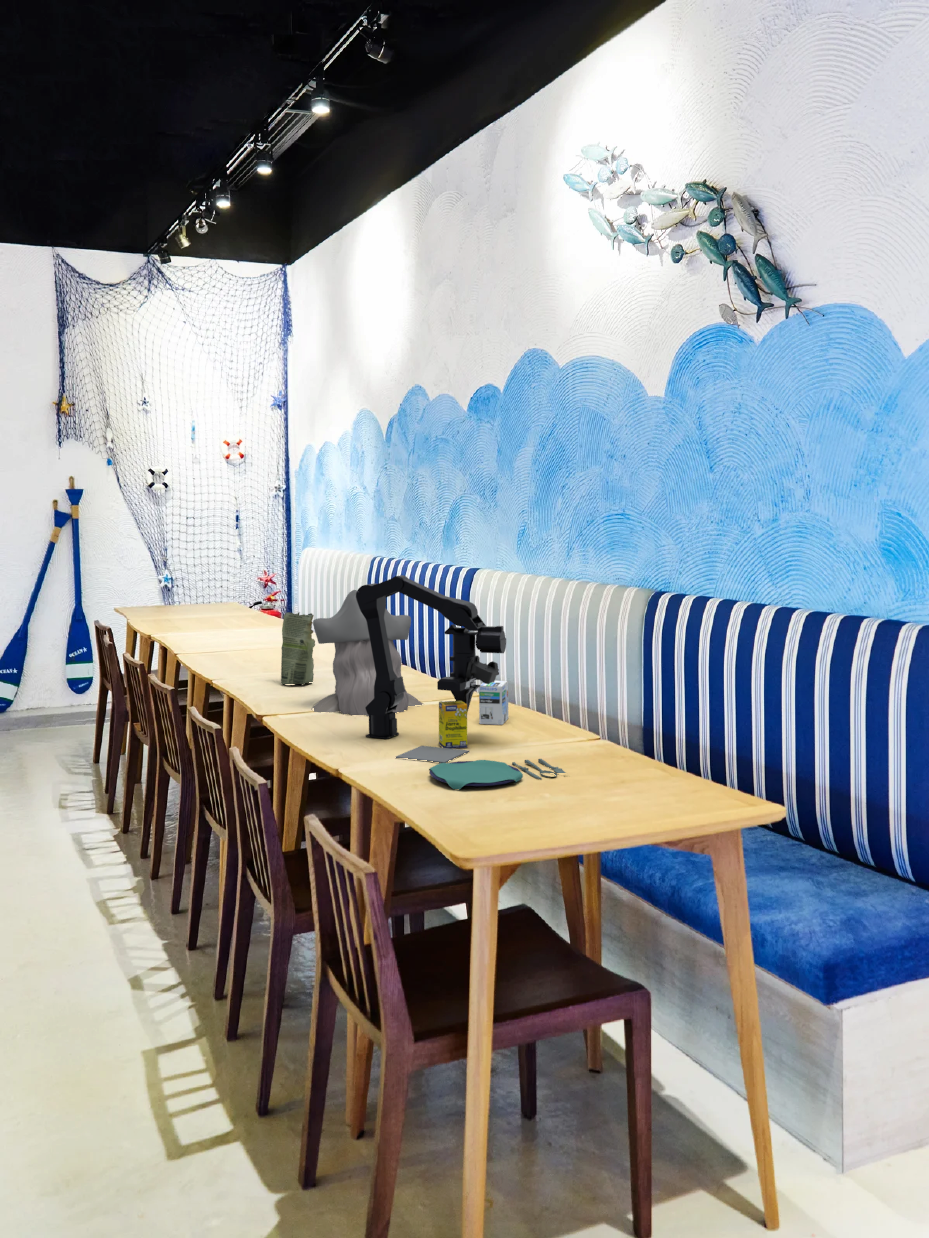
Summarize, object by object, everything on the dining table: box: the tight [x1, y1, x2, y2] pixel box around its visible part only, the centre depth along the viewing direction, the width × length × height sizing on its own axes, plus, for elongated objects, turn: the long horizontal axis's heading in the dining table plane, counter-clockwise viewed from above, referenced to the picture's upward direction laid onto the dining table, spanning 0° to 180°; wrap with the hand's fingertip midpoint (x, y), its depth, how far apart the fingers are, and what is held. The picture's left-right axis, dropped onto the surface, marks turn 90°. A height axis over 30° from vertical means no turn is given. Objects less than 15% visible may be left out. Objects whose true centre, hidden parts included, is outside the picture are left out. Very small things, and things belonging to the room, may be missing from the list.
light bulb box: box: [478, 679, 509, 726], centre depth 284 cm, size 11×7×11 cm, turn 168°
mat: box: [395, 745, 470, 764], centre depth 244 cm, size 13×13×1 cm
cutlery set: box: [428, 758, 567, 791], centre depth 224 cm, size 20×30×2 cm, turn 111°
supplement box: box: [438, 700, 468, 749], centre depth 253 cm, size 6×6×11 cm
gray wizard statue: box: [312, 589, 424, 717], centre depth 307 cm, size 34×34×35 cm
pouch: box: [280, 611, 316, 685], centre depth 349 cm, size 11×12×25 cm
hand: (464, 713), depth 259 cm, fingers closed
